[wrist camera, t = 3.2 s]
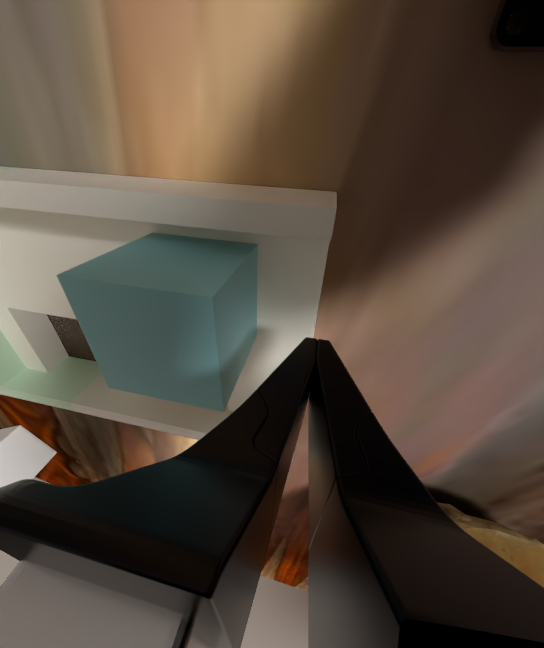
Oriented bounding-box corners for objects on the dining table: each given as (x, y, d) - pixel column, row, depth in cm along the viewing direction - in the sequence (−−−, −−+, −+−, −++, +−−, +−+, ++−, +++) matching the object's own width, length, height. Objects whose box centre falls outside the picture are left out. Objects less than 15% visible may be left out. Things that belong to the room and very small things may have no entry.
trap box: (336, 191, 11) (336, 208, 8) (300, 410, 20) (292, 461, 16) (-77, 160, 14) (-196, 163, 11) (44, 358, 23) (-4, 393, 20)
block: (257, 244, 11) (212, 297, 7) (256, 336, 14) (223, 412, 10) (152, 232, 12) (56, 275, 8) (171, 322, 15) (108, 387, 11)
